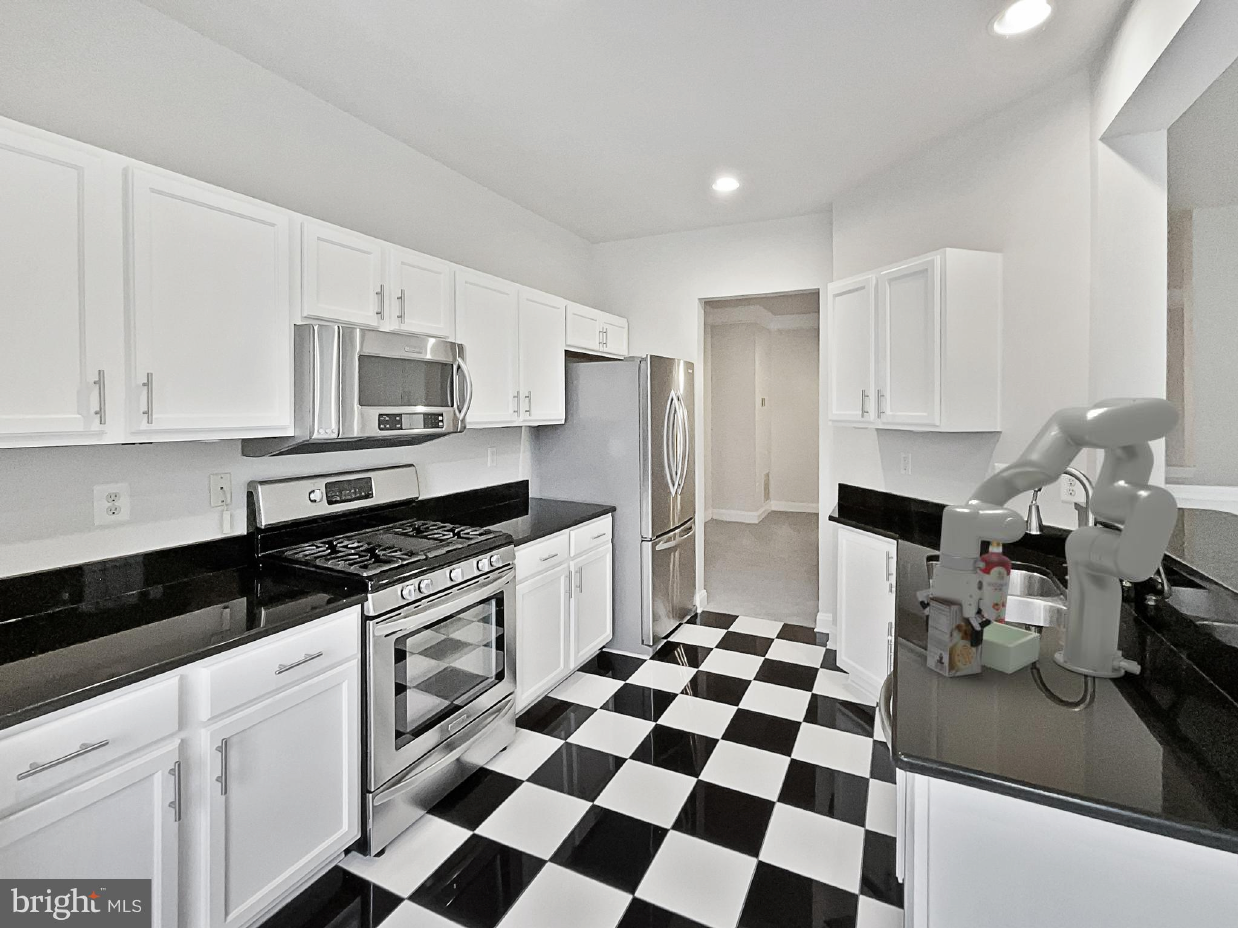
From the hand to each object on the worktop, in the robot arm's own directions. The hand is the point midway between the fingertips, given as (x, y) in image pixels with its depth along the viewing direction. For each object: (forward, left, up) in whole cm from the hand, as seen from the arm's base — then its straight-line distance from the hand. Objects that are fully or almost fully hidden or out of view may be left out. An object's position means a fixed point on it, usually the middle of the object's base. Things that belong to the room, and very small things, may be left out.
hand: (952, 638), depth 137 cm
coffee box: (0, 0, -7) cm, 7 cm away
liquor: (+7, -32, -7) cm, 34 cm away
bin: (+1, -15, -7) cm, 17 cm away
